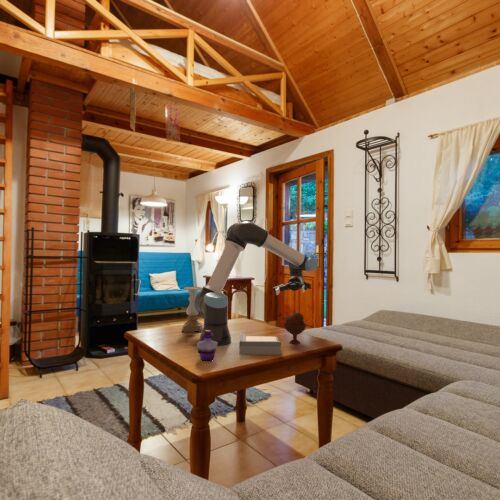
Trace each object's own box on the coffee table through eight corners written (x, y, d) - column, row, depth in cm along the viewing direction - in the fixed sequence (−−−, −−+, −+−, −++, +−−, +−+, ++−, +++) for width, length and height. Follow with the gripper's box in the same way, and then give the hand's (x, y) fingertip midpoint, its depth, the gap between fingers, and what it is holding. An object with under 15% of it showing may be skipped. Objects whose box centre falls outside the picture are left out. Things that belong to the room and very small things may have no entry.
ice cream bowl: (301, 339, 177) (301, 310, 177) (309, 345, 166) (309, 314, 166) (281, 340, 175) (281, 310, 175) (288, 346, 164) (288, 314, 164)
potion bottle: (195, 357, 145) (195, 328, 145) (215, 355, 147) (215, 327, 147) (198, 364, 136) (198, 333, 136) (219, 362, 139) (220, 332, 139)
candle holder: (183, 328, 200) (184, 286, 200) (202, 327, 201) (203, 286, 202) (181, 332, 189) (182, 288, 190) (201, 332, 191) (202, 288, 191)
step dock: (239, 354, 150) (239, 341, 150) (239, 343, 168) (239, 332, 168) (280, 354, 150) (281, 341, 150) (276, 343, 168) (277, 332, 168)
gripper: (317, 287, 195) (315, 296, 175) (274, 291, 202) (267, 300, 181) (316, 274, 194) (313, 281, 174) (272, 278, 201) (265, 286, 181)
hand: (289, 291), depth 178 cm, fingers open, 13 cm apart
